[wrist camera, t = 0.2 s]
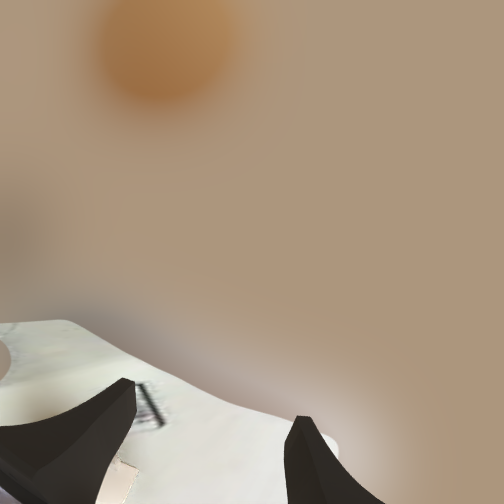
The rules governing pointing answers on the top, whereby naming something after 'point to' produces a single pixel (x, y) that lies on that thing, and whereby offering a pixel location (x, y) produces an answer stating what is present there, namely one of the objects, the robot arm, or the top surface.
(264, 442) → the top surface
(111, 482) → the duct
